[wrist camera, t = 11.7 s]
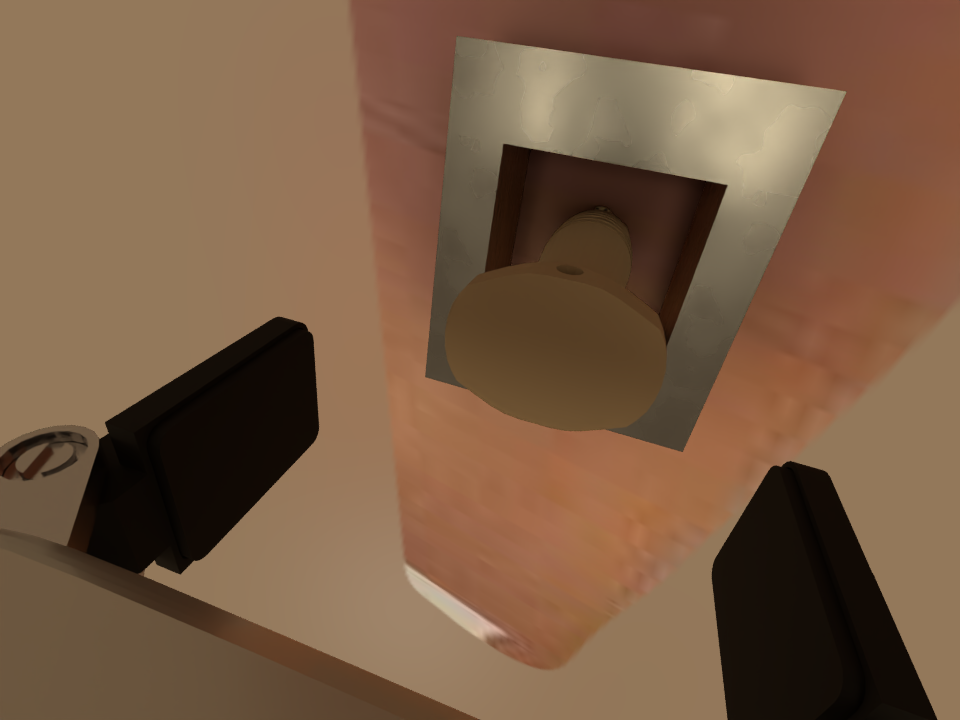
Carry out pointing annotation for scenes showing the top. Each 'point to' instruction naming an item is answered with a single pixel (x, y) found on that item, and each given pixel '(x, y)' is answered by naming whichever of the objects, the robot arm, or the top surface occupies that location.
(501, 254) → the socket block
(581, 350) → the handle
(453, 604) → the top surface
